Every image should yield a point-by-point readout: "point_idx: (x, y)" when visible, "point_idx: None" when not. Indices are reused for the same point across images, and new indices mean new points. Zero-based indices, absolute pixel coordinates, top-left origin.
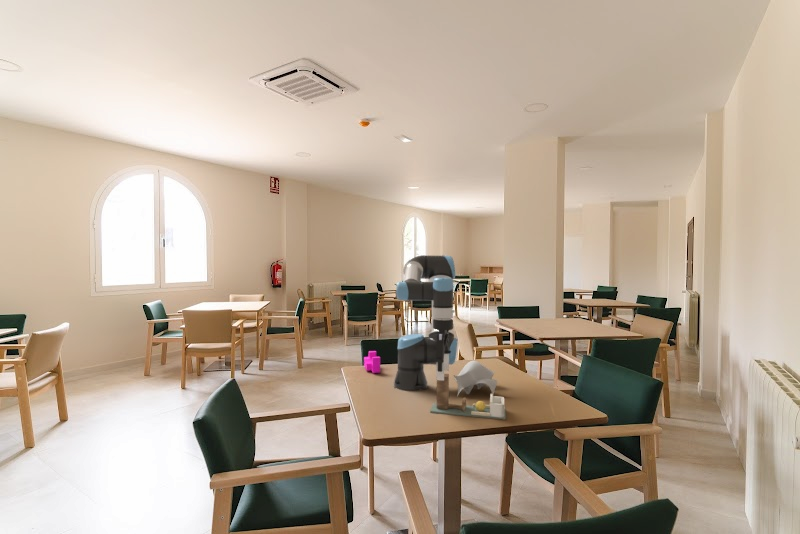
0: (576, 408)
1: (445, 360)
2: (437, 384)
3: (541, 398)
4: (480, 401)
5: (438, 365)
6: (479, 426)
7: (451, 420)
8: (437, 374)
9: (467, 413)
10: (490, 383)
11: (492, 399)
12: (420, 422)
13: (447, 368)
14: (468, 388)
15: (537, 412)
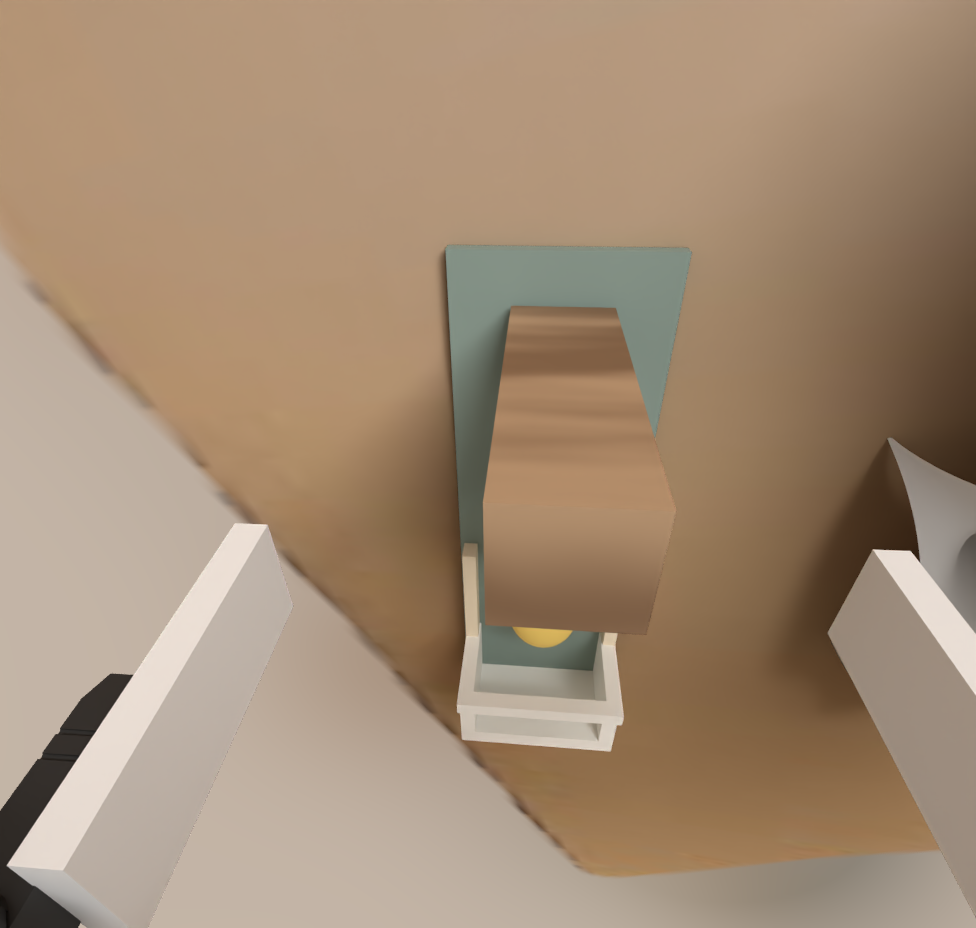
0: (669, 852)
1: (958, 786)
2: (494, 435)
3: (804, 800)
4: (538, 640)
5: (13, 813)
6: (329, 568)
7: (348, 427)
8: (196, 607)
9: (475, 523)
10: None
11: (603, 691)
12: (192, 192)
13: (851, 654)
14: (957, 559)
15: (600, 765)
